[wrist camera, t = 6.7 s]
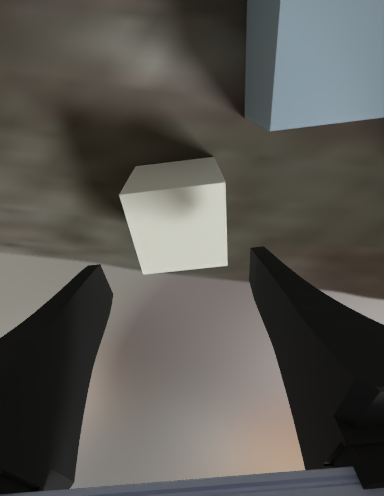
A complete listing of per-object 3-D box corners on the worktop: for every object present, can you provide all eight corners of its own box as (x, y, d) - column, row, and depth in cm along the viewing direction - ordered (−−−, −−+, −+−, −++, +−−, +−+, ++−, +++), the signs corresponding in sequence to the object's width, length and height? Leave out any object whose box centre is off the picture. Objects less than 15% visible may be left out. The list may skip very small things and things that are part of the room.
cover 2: (358, -22, 12) (464, -87, 8) (331, 107, 15) (393, 116, 11) (247, -7, 12) (285, -61, 8) (244, 118, 16) (269, 131, 11)
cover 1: (213, 156, 17) (225, 182, 12) (217, 225, 20) (227, 265, 16) (135, 166, 17) (118, 194, 13) (151, 233, 20) (143, 274, 16)
